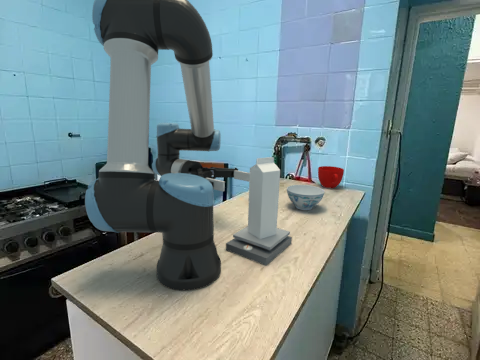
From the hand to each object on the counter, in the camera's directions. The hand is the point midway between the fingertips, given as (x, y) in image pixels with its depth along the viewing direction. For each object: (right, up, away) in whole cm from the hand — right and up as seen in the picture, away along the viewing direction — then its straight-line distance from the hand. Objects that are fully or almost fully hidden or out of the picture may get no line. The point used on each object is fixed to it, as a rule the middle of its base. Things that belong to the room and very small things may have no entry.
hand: (238, 181), depth 79 cm
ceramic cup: (+48, -4, +63) cm, 79 cm away
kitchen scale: (+7, -18, -1) cm, 20 cm away
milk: (+7, -15, -2) cm, 17 cm away
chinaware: (+27, -11, +32) cm, 43 cm away
